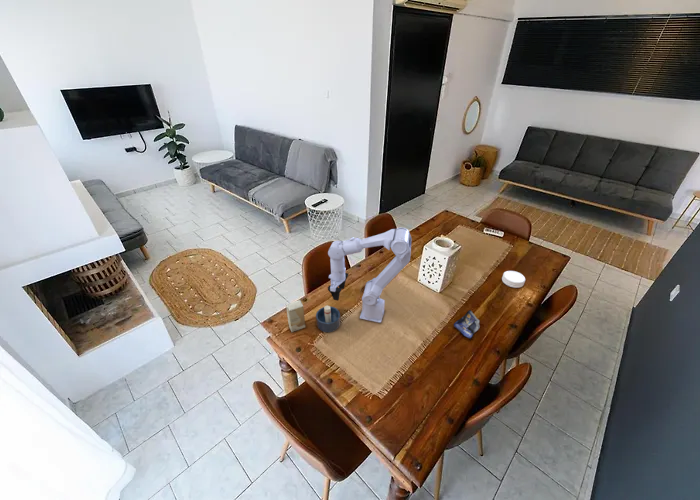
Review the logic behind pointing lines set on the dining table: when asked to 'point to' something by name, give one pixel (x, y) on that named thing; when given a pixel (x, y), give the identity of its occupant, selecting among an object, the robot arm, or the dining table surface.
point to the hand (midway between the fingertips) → (338, 293)
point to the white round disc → (513, 279)
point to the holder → (333, 324)
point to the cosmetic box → (295, 315)
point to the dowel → (327, 314)
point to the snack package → (467, 324)
